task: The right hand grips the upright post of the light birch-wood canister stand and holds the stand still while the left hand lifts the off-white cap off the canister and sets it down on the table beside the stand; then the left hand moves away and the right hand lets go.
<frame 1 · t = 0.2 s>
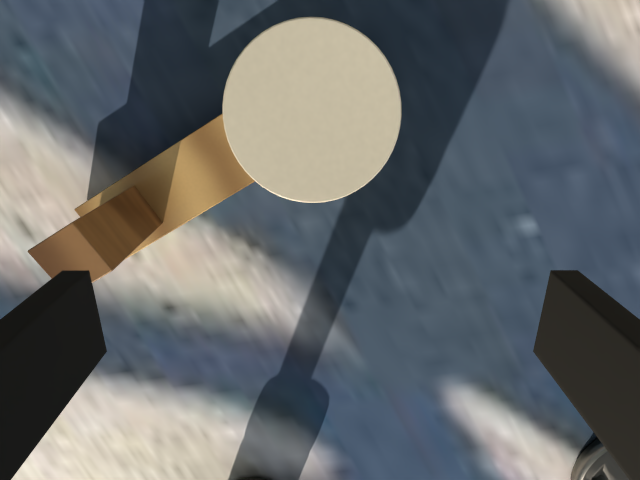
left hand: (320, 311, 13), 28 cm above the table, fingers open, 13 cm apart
cap: (313, 110, 26), point 12 cm above the table, touching canister stand
canister stand: (228, 153, 39), on the table, touching cap
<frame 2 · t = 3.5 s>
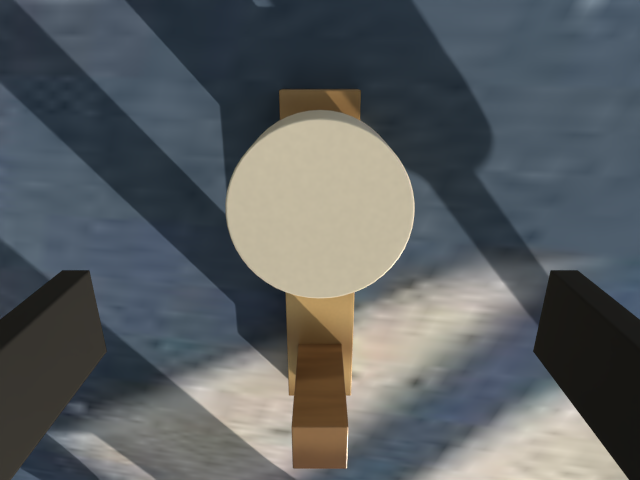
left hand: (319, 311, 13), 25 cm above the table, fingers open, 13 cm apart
cap: (319, 193, 25), point 12 cm above the table, touching canister stand
canister stand: (319, 254, 39), on the table, touching cap
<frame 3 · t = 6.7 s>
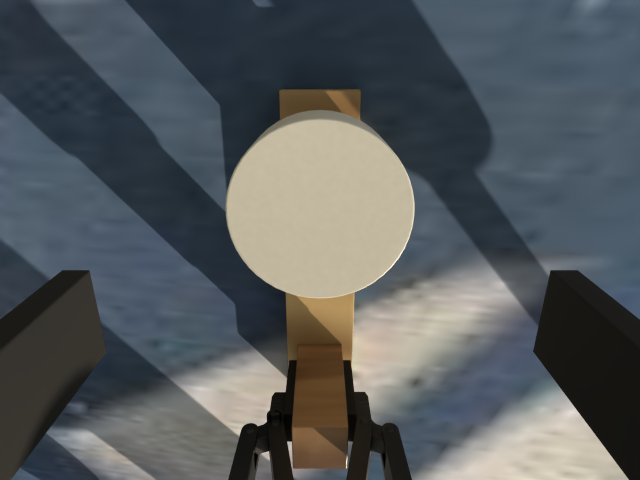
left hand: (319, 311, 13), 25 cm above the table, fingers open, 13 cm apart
cap: (319, 193, 25), point 12 cm above the table, touching canister stand
canister stand: (319, 254, 39), on the table, touching cap, right hand
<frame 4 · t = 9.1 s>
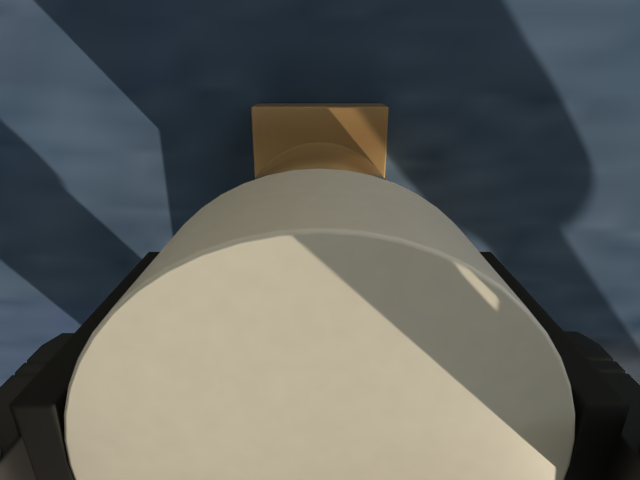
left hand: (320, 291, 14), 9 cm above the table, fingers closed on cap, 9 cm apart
cap: (319, 336, 12), point 12 cm above the table, touching canister stand, left hand
canister stand: (319, 349, 26), on the table, touching cap, right hand
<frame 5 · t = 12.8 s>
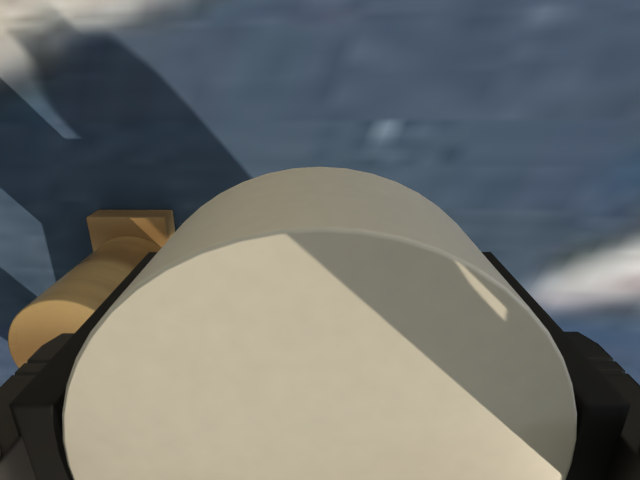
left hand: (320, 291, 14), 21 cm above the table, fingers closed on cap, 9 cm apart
cap: (319, 336, 11), point 24 cm above the table, touching left hand
canister stand: (158, 354, 40), on the table, touching right hand
when the left hand's fingers open (2 cm above the table, at t = 16.5 s): cap drops 5 cm, on the table.
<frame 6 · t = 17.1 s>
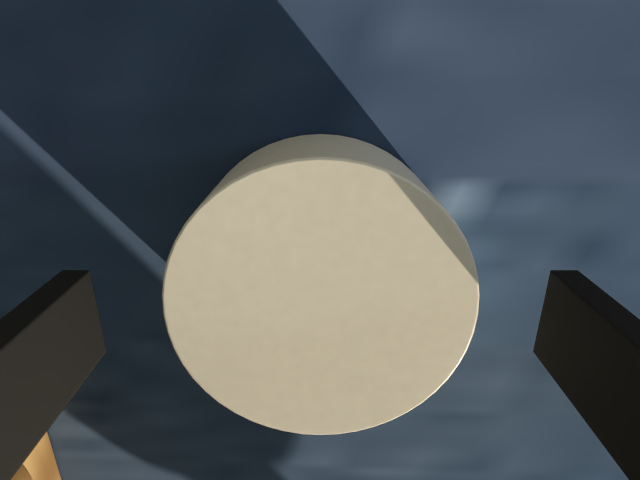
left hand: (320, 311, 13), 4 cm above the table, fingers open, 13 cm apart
cap: (320, 257, 16), on the table
when the right hand's fingers open (4 cm above the table, at t = 19.0 s): canister stand stays where it is, on the table.
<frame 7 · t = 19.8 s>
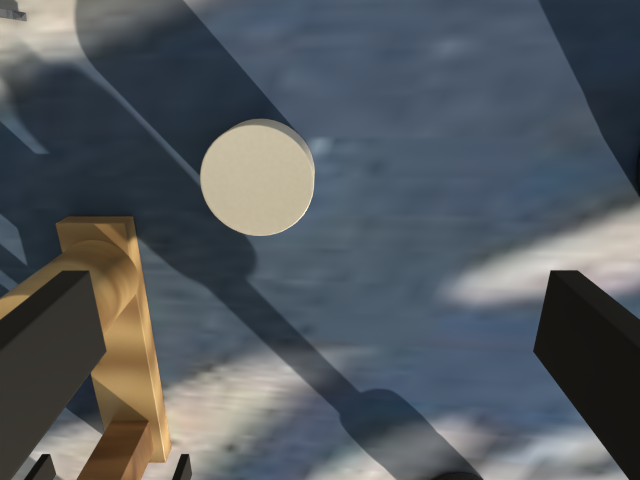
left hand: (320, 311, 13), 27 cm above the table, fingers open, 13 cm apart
cap: (263, 171, 38), on the table
canister stand: (125, 345, 45), on the table
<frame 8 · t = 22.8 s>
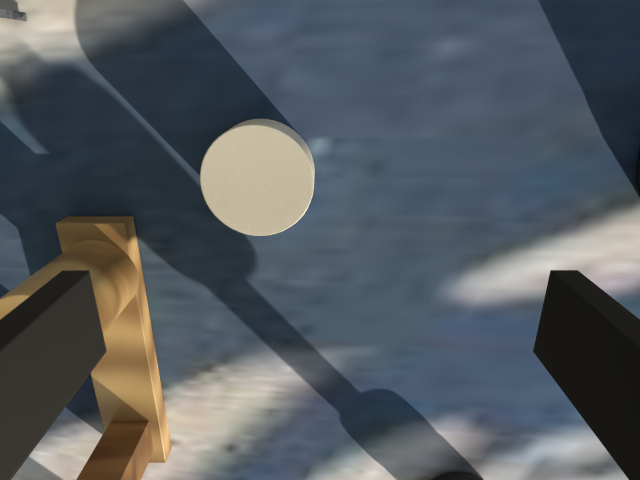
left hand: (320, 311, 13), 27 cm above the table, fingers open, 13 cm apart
cap: (263, 171, 38), on the table
canister stand: (125, 345, 45), on the table
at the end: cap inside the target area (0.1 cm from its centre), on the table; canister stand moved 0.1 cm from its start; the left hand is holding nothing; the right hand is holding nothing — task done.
